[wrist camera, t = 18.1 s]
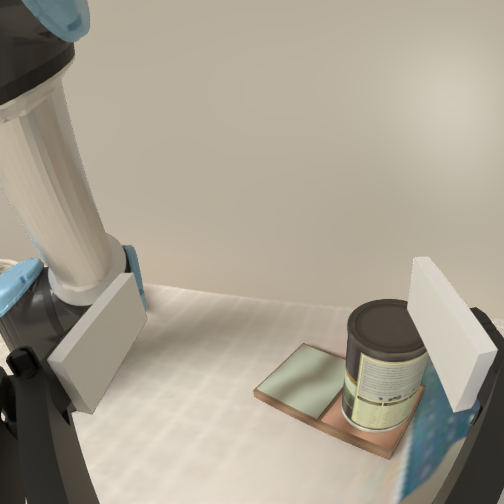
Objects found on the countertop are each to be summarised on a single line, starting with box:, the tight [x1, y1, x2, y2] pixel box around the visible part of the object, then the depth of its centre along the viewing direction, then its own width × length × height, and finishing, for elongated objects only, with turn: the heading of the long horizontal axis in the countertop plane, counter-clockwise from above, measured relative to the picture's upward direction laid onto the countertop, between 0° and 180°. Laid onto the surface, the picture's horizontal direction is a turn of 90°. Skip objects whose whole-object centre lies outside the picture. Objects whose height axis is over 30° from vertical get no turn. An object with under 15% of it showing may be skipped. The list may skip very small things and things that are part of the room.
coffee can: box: [341, 299, 429, 433], centre depth 35 cm, size 10×10×14 cm
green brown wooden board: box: [253, 343, 426, 459], centre depth 42 cm, size 22×13×2 cm, turn 49°
